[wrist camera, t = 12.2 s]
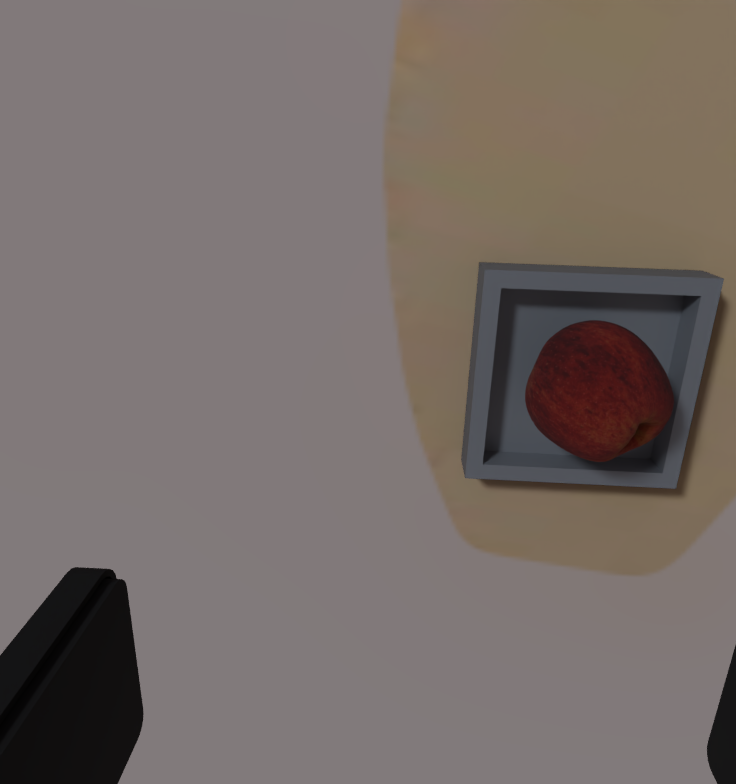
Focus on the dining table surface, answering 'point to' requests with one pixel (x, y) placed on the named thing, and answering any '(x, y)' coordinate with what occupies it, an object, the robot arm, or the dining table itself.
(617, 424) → the apple
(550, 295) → the tray
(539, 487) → the dining table surface
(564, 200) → the dining table surface
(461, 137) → the dining table surface
